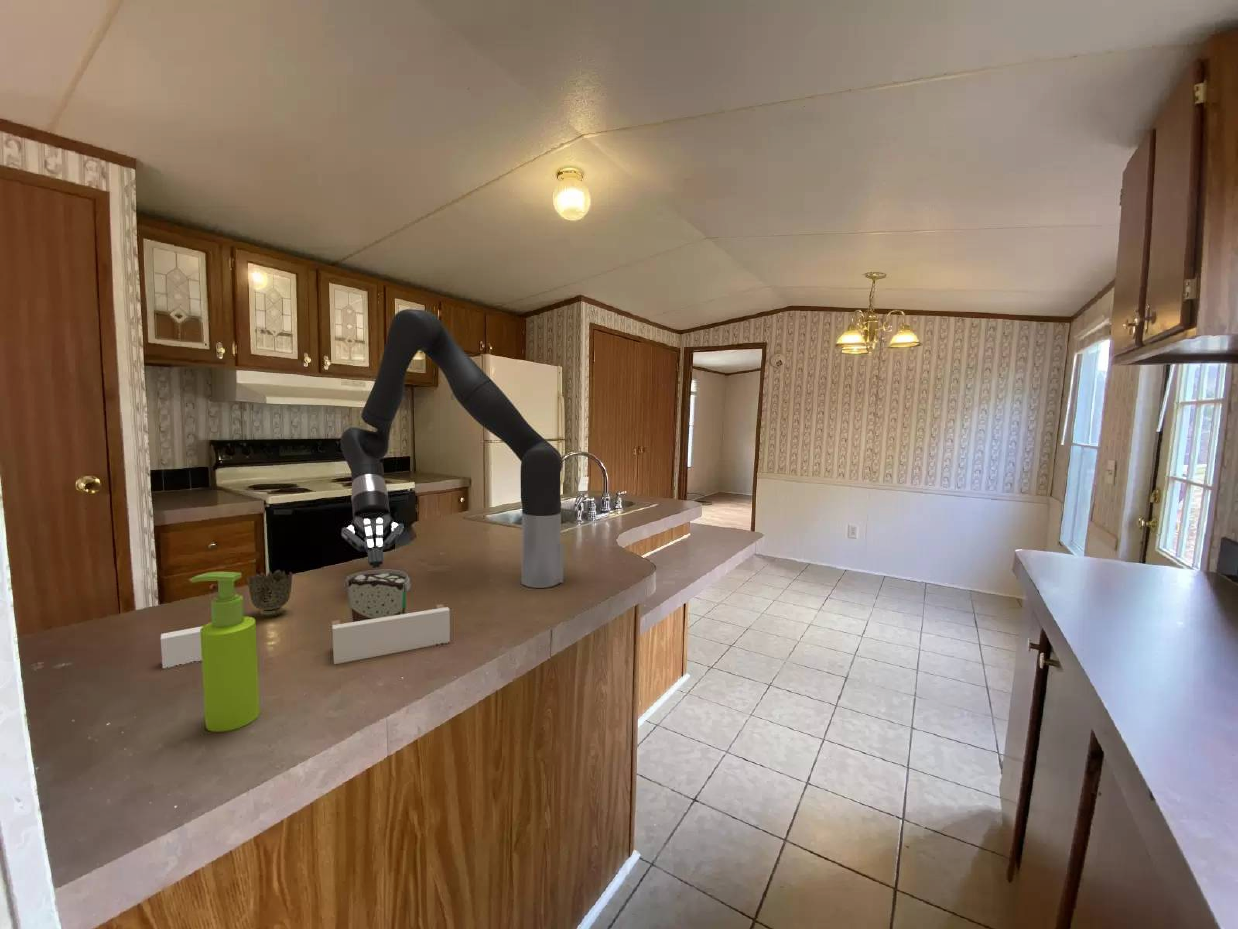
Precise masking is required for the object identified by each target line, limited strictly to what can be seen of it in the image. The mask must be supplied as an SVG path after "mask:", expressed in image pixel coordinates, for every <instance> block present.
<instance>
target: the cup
mask: <svg viewBox="0 0 1238 929" xmlns="http://www.w3.org/2000/svg"><path fill="white" fill-rule="evenodd" d="M292 581H293V572H291V571H290V572H289V573H288V574H286V571H285V570H283V571H282V570H280V569H277V570H276V571H274V572H273V573H272V572H271V571H270V570H268V572H267V574H265V573H264V572H260V574H258V573H255V575H254V576H253V575H250V578H249V577H247V578H246V582H247V586H248V593H249V596H250V600H251V604H253V607H255V608H256V609H258V610H260V615H261V616H262V617H264V618H274V616H275V617H278V616H279V615H281V614H282V613H283V611H284V609H283V606H285V605H286V604H287V603H288V602H289V599H290V598H291V592H292V583H293V582H292Z"/></svg>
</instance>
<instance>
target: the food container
mask: <svg viewBox="0 0 1238 929" xmlns="http://www.w3.org/2000/svg"><path fill="white" fill-rule="evenodd" d="M343 586H344V587H343V588H347V594H348V602H349V604H348V605H349V610H350V619H351V622H357V621H363V620H369V619H376V618H382V617H388V616H395V615H401V614H406V602H407V593H408V591H409V590H410V589H411V586H412V584H411V581H410V578H409V576H408V574H407V572H404V571H402V570H398V569H383V568H382V569H373V570H364V571H360V572H356V573H353V574H350V575H348V576H346V579H345V580H344V585H343Z"/></svg>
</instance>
